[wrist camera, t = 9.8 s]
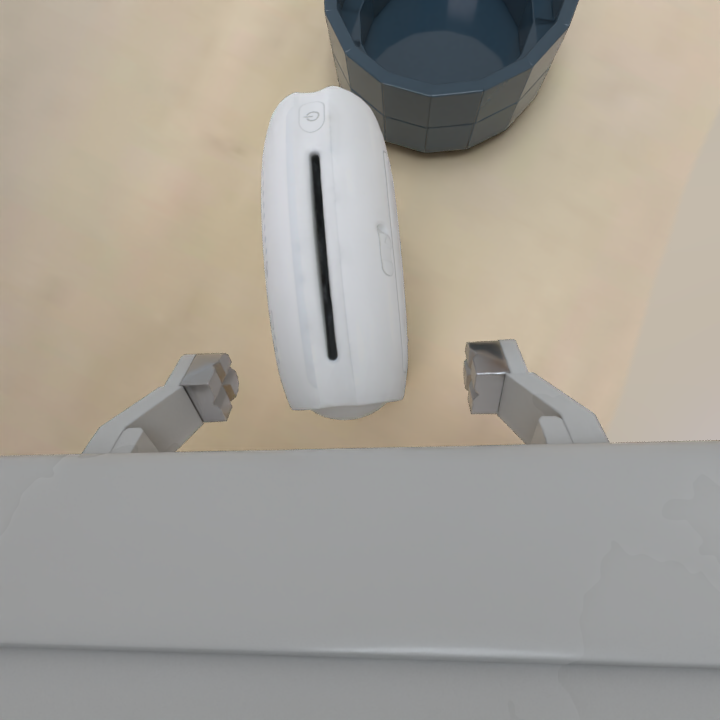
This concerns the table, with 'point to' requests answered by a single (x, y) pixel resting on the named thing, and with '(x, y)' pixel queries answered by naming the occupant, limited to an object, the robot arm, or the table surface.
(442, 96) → the bowl
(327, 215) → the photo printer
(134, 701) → the robot arm
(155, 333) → the table surface
